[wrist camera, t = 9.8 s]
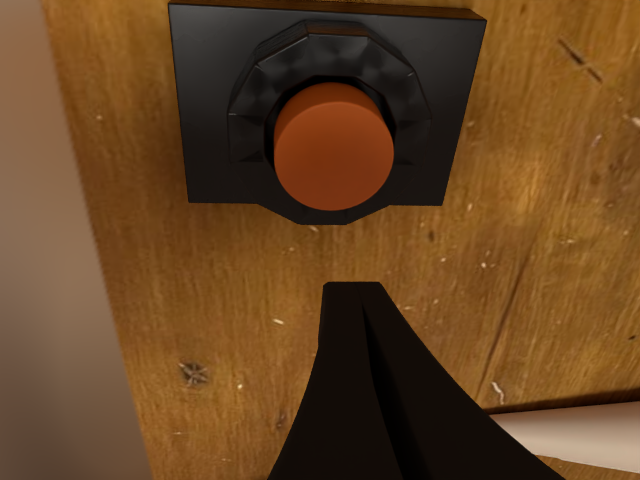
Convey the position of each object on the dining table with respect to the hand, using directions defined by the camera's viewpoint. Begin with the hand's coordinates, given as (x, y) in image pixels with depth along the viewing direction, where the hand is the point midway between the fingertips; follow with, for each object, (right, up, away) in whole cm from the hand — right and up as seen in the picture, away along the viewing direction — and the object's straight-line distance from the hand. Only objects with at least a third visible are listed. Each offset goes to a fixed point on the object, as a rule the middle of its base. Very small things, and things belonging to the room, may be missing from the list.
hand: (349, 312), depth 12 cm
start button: (0, +5, +4) cm, 7 cm away
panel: (-1, +7, +7) cm, 10 cm away
